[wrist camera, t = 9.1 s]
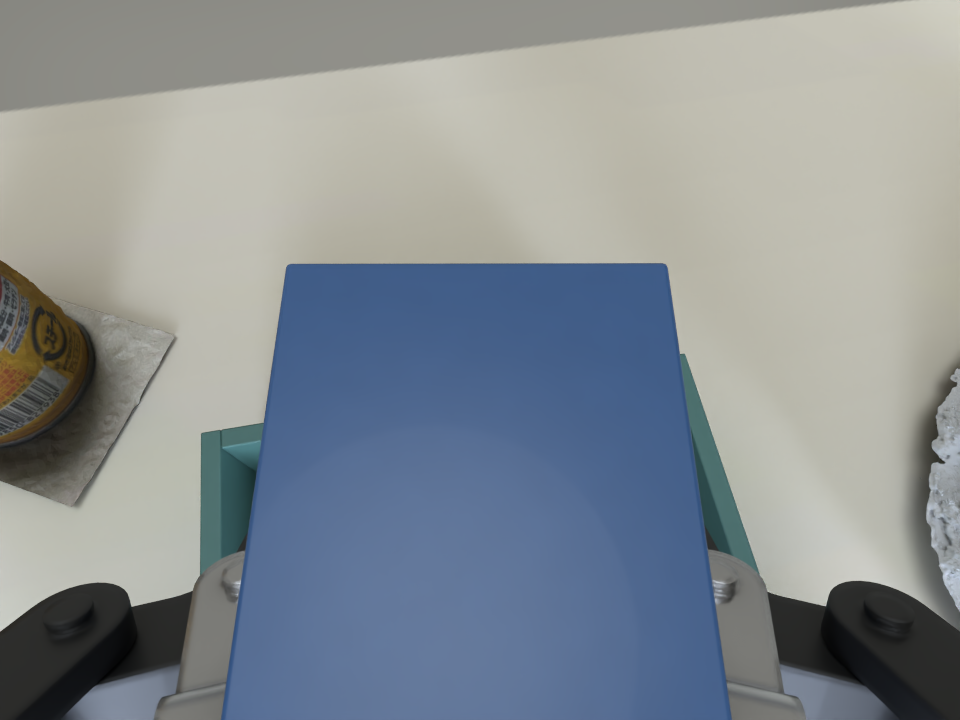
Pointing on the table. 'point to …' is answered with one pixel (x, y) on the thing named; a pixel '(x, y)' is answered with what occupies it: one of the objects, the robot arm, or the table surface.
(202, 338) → the table surface
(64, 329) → the condiment
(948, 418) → the food container
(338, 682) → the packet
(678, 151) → the table surface
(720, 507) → the tray
